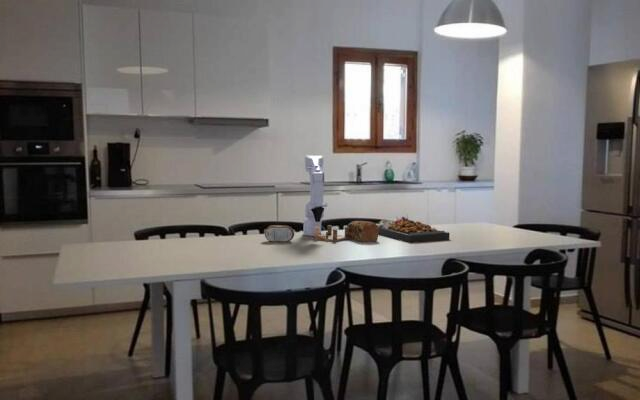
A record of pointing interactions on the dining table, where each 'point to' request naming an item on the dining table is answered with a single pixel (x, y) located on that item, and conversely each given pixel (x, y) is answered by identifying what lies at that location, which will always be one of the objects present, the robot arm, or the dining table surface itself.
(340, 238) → the stool frame
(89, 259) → the dining table surface
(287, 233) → the tin
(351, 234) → the bread
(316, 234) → the gate leg
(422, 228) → the food platter
